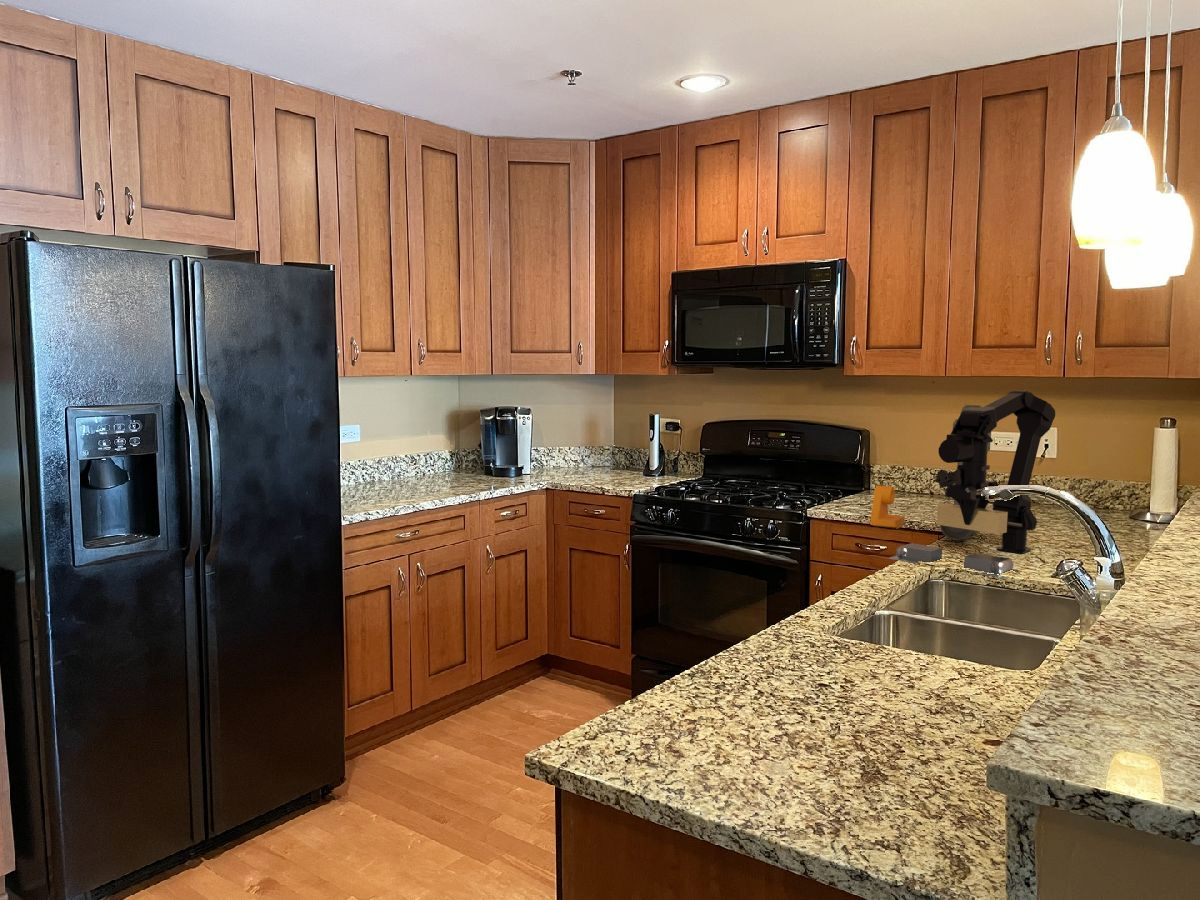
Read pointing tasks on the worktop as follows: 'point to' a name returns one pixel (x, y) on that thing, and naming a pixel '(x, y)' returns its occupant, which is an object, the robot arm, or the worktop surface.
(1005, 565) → the pair of grey blocks
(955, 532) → the bluetooth speaker
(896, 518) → the bracket
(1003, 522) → the tan wooden block
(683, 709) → the worktop surface
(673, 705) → the worktop surface
